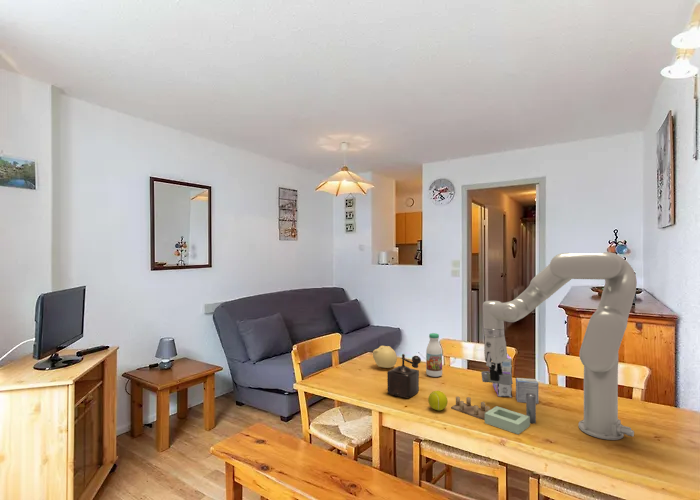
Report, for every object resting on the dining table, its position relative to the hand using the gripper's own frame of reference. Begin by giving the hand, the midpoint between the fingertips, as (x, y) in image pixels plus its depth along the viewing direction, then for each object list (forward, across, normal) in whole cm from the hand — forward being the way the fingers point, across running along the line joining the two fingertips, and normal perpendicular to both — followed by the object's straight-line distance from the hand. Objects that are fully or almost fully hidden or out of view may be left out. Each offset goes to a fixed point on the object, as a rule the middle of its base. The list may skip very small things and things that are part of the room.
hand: (496, 379), depth 149 cm
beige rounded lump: (+8, +6, +65) cm, 66 cm away
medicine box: (+11, +14, -5) cm, 19 cm away
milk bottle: (+9, +14, +40) cm, 43 cm away
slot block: (+11, -12, -9) cm, 19 cm away
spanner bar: (+1, 0, -1) cm, 2 cm away
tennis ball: (+10, -19, +14) cm, 26 cm away
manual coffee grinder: (+9, -15, +32) cm, 37 cm away
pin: (+11, -4, -14) cm, 19 cm away
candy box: (+11, +17, +7) cm, 21 cm away
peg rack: (+10, -11, +4) cm, 16 cm away
